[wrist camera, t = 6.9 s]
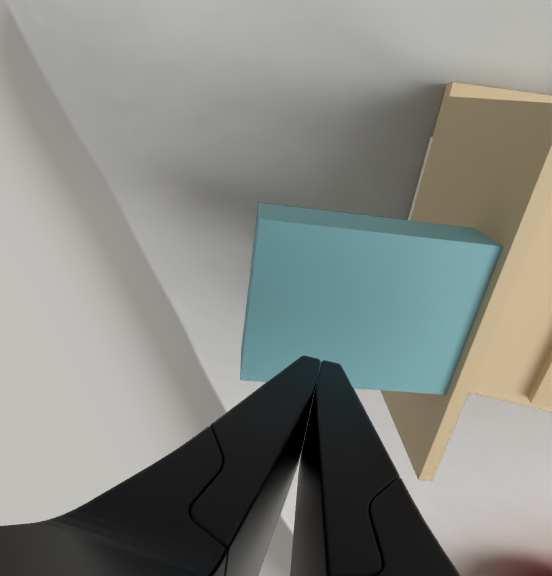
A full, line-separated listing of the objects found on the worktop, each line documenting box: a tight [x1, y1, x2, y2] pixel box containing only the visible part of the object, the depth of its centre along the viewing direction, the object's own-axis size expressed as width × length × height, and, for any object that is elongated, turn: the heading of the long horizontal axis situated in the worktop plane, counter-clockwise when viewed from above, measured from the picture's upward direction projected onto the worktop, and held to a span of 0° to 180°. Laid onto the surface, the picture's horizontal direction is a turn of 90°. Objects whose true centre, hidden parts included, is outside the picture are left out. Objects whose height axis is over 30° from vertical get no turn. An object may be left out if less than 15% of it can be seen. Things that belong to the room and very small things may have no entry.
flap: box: [240, 96, 552, 481], centre depth 15 cm, size 7×12×7 cm
